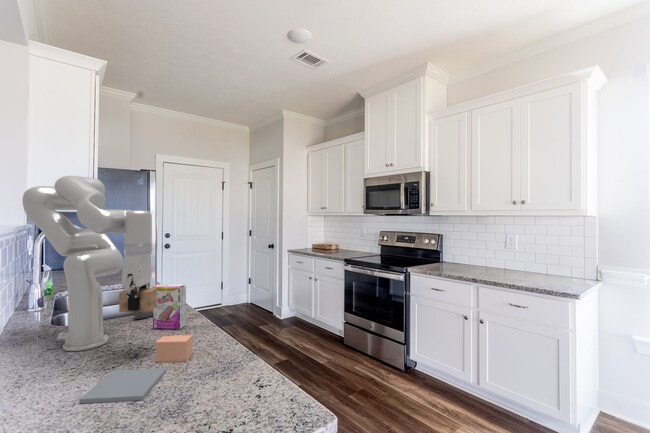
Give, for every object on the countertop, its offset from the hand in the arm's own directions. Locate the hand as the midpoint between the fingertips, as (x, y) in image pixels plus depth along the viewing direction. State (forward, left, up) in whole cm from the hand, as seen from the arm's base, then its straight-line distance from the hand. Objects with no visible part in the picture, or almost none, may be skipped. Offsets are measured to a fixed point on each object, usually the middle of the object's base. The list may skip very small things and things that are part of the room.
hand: (138, 306), depth 103 cm
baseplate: (+6, -20, -15) cm, 26 cm away
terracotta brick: (+12, -4, -15) cm, 20 cm away
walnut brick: (0, 0, -1) cm, 1 cm away
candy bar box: (0, +24, -15) cm, 28 cm away
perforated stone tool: (-14, +40, -15) cm, 45 cm away
